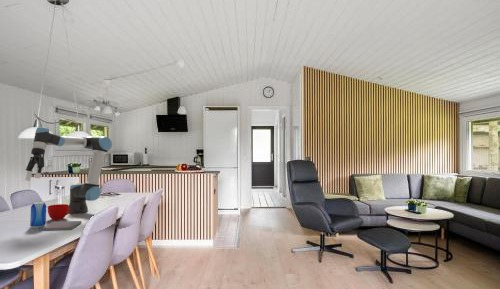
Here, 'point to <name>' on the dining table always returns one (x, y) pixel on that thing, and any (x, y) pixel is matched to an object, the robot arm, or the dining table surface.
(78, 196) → the robot arm
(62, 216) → the ceramic cup
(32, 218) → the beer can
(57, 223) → the slate tile
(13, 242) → the dining table surface
